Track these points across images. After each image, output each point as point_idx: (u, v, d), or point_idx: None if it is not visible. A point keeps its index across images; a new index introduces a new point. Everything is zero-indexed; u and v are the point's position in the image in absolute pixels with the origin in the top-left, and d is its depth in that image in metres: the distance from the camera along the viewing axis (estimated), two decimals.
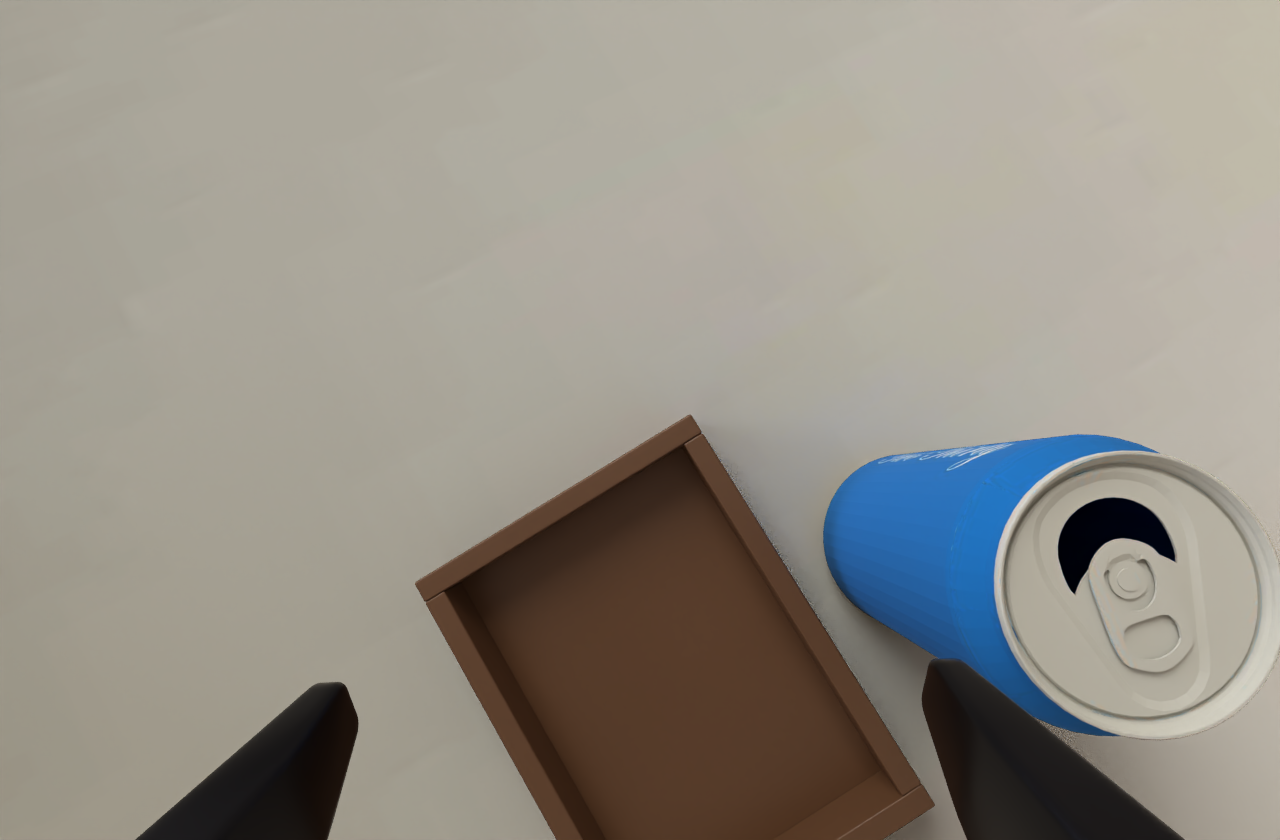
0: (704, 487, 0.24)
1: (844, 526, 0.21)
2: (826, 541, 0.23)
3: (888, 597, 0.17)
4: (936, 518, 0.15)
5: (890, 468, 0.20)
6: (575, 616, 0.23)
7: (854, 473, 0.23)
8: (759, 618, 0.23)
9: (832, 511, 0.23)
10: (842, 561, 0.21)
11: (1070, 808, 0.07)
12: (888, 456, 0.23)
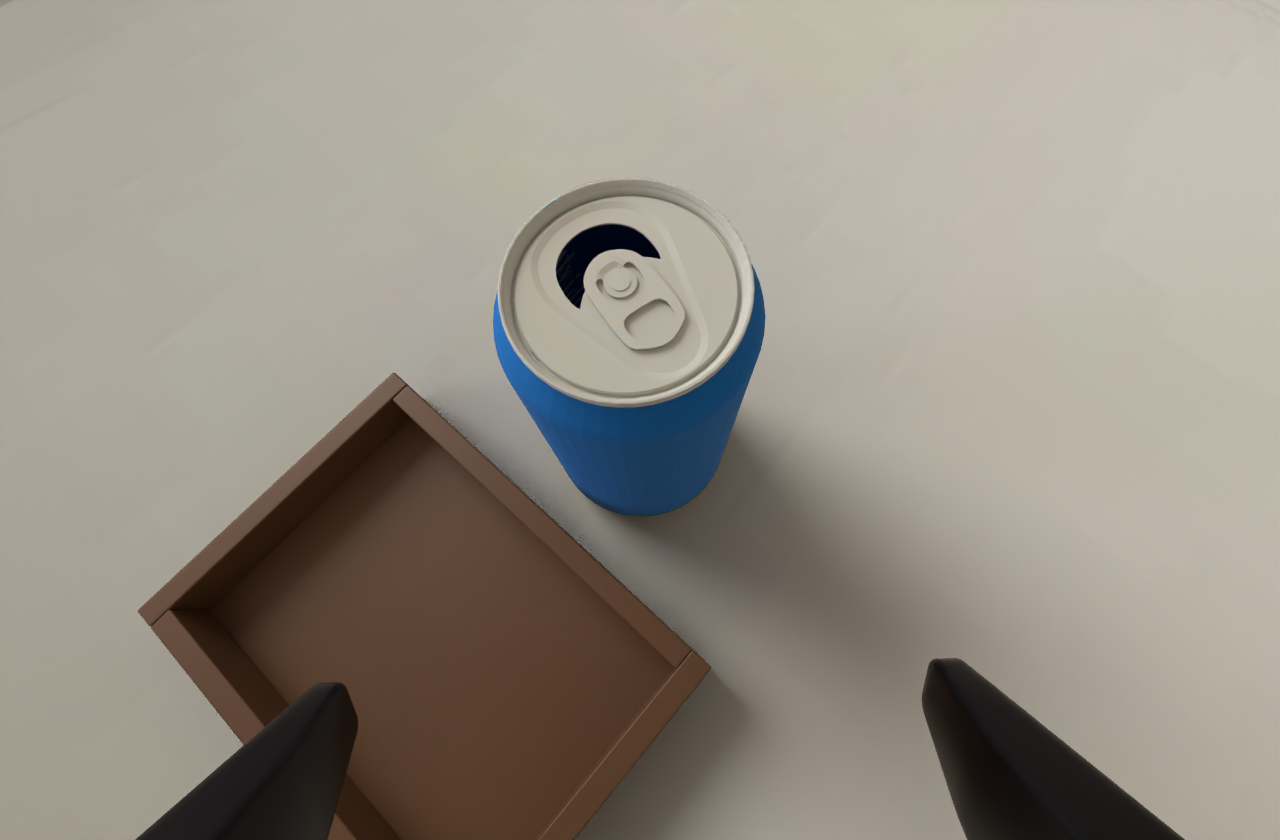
0: None
1: None
2: None
3: (545, 438, 0.18)
4: None
5: None
6: (333, 608, 0.22)
7: None
8: (519, 551, 0.23)
9: None
10: None
11: (1070, 808, 0.07)
12: None
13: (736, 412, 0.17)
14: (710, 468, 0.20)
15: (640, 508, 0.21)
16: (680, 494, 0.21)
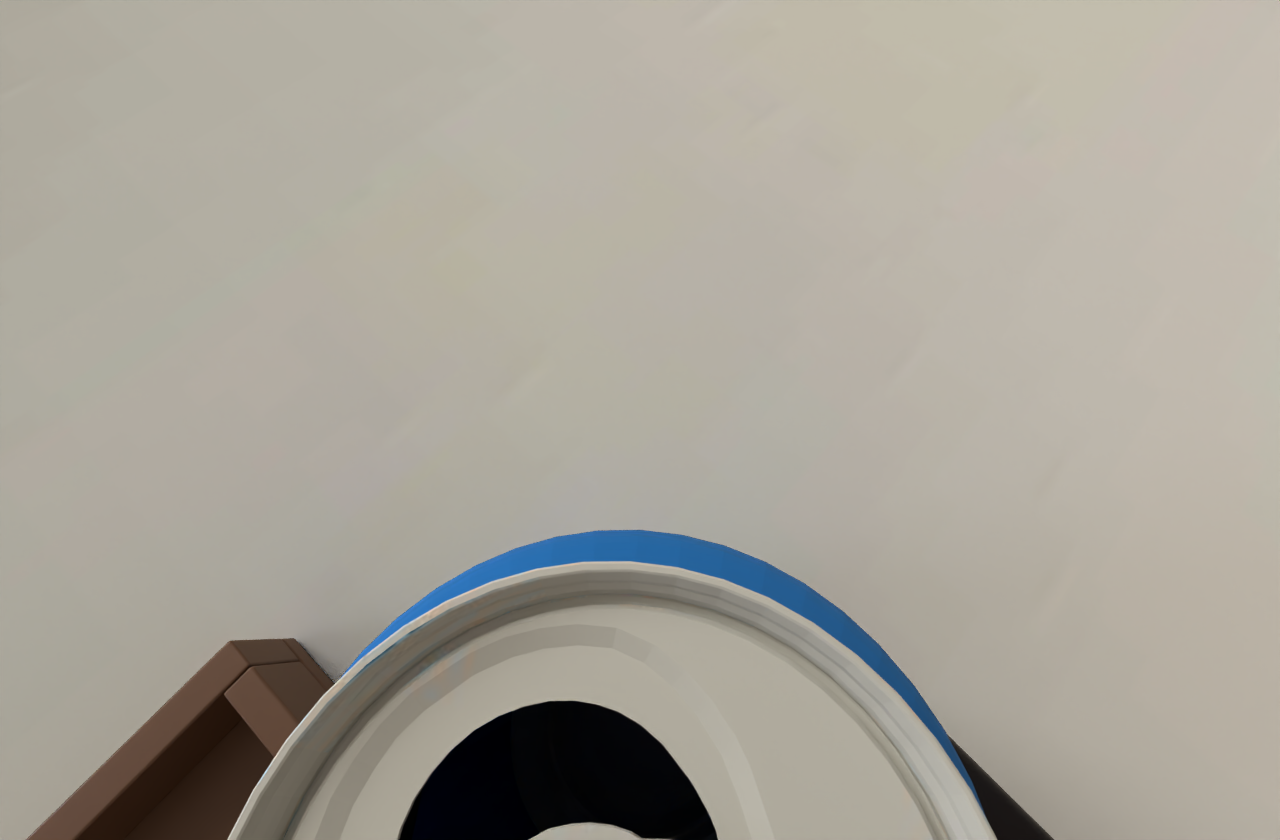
0: None
1: None
2: (510, 778, 0.14)
3: None
4: None
5: None
6: None
7: None
8: None
9: (504, 724, 0.14)
10: (497, 827, 0.12)
11: None
12: None
13: None
14: None
15: None
16: None
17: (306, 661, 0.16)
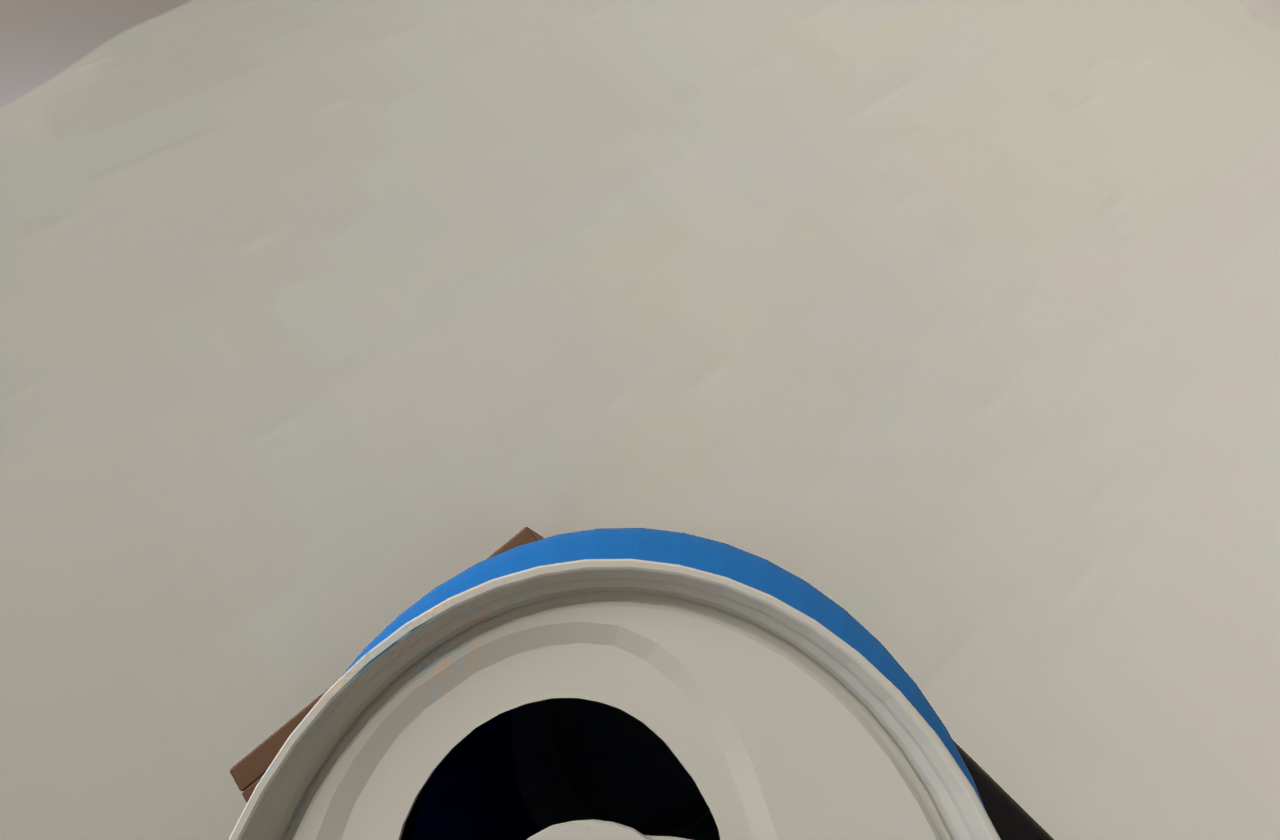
0: None
1: None
2: (511, 777, 0.14)
3: None
4: None
5: None
6: None
7: None
8: None
9: (504, 723, 0.14)
10: (498, 825, 0.12)
11: None
12: None
13: None
14: None
15: None
16: None
17: None
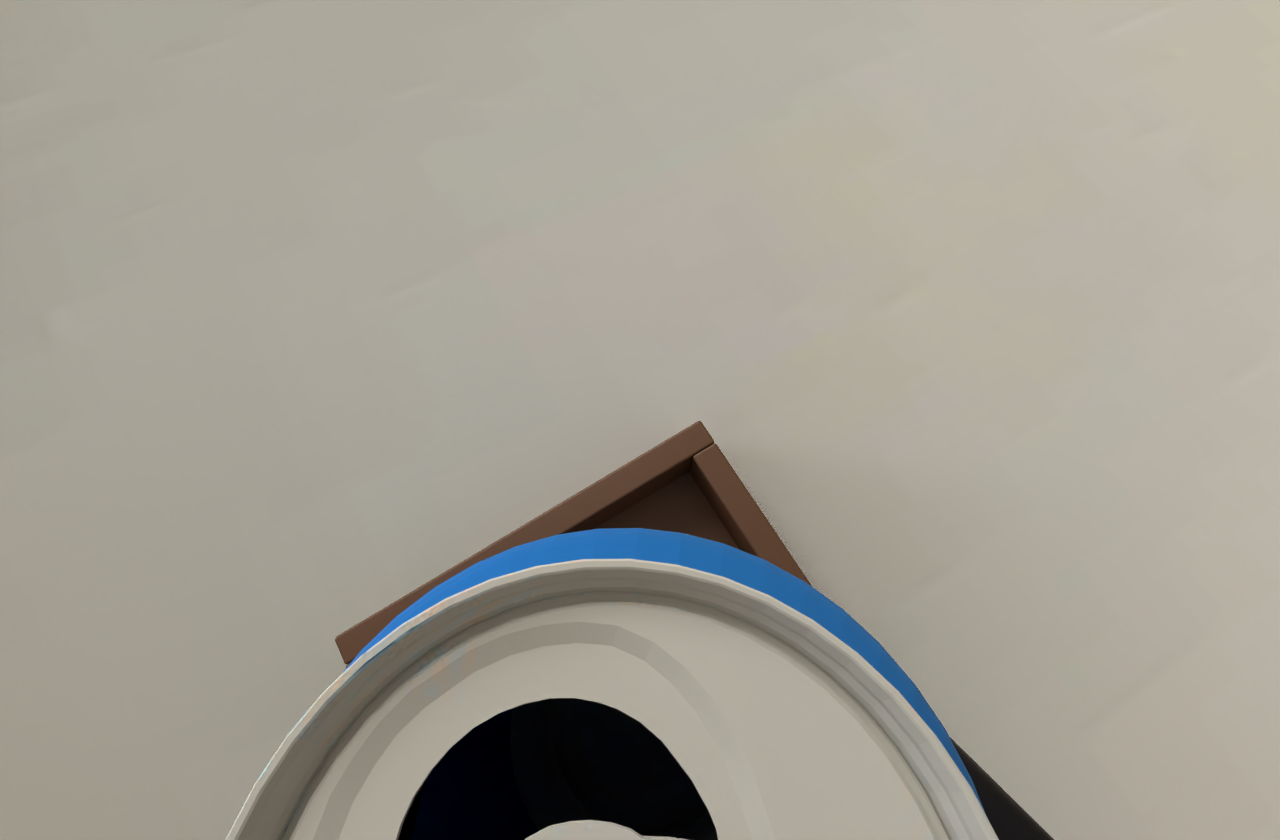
0: (719, 521, 0.19)
1: None
2: (510, 777, 0.14)
3: None
4: None
5: None
6: None
7: None
8: None
9: (504, 723, 0.14)
10: (497, 826, 0.12)
11: None
12: None
13: None
14: None
15: None
16: None
17: None
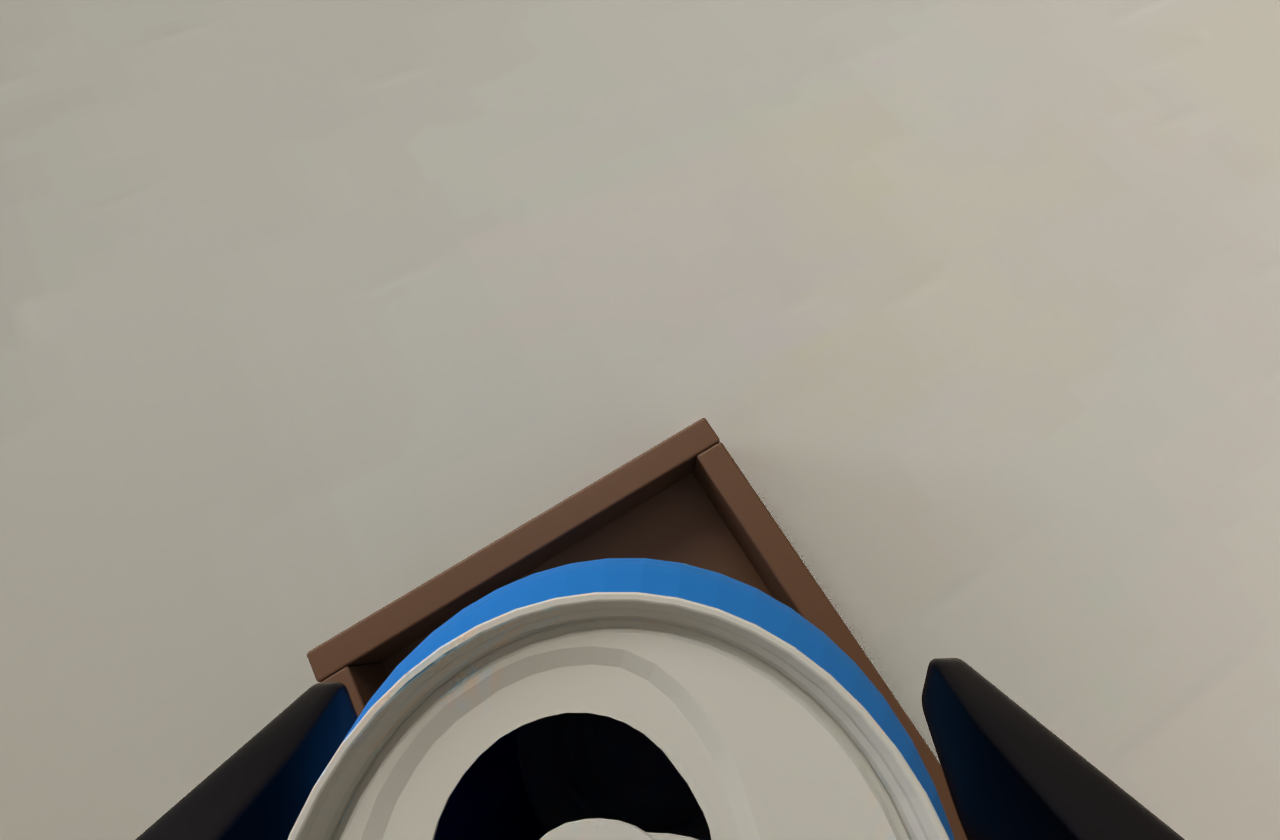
0: (724, 527, 0.18)
1: None
2: (518, 778, 0.15)
3: None
4: None
5: None
6: None
7: None
8: None
9: None
10: (506, 824, 0.13)
11: (1070, 808, 0.07)
12: None
13: None
14: None
15: None
16: None
17: None
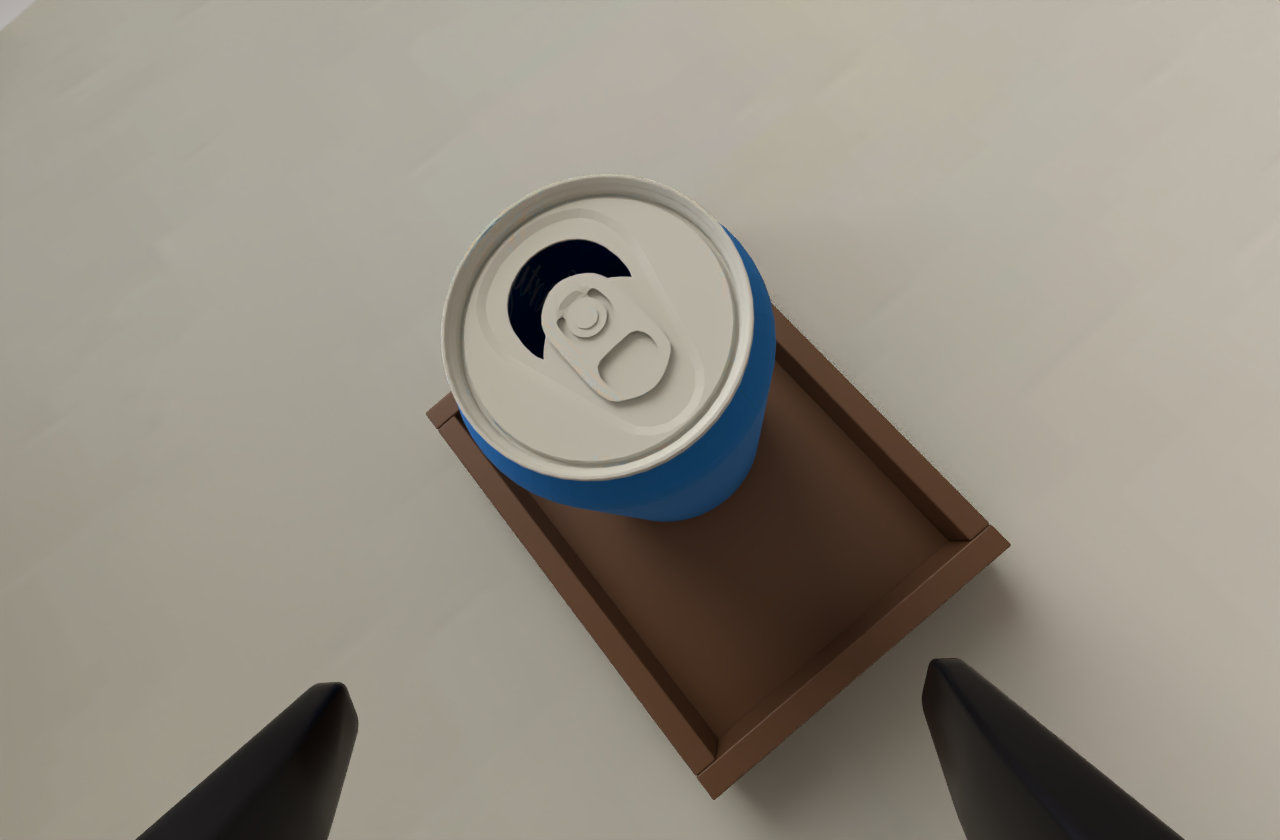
0: None
1: None
2: None
3: None
4: None
5: None
6: None
7: None
8: (783, 405, 0.22)
9: None
10: None
11: (1070, 808, 0.07)
12: None
13: (760, 423, 0.14)
14: (745, 469, 0.18)
15: (676, 519, 0.19)
16: (716, 501, 0.18)
17: None
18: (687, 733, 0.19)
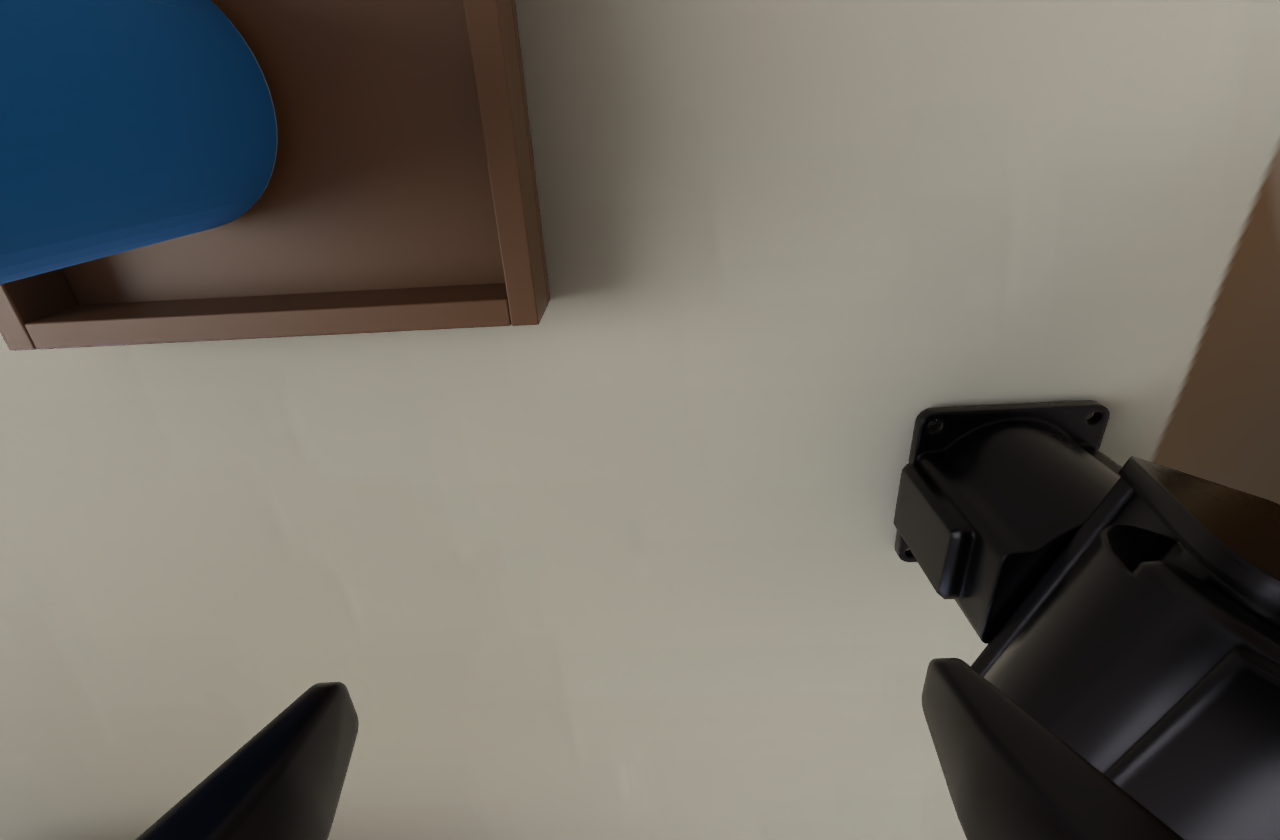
0: None
1: None
2: None
3: None
4: None
5: None
6: None
7: None
8: None
9: None
10: None
11: (1070, 808, 0.07)
12: None
13: None
14: (172, 45, 0.13)
15: (239, 171, 0.15)
16: (216, 110, 0.14)
17: None
18: (470, 308, 0.17)
